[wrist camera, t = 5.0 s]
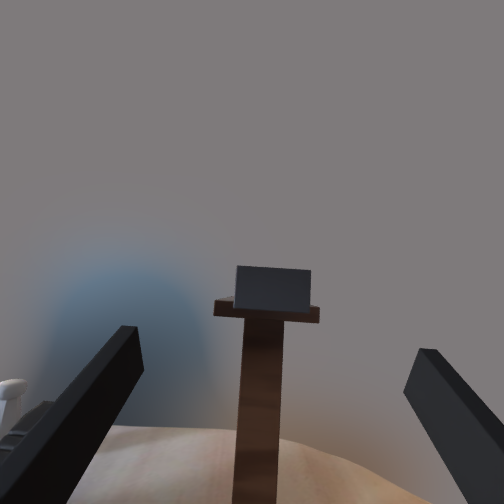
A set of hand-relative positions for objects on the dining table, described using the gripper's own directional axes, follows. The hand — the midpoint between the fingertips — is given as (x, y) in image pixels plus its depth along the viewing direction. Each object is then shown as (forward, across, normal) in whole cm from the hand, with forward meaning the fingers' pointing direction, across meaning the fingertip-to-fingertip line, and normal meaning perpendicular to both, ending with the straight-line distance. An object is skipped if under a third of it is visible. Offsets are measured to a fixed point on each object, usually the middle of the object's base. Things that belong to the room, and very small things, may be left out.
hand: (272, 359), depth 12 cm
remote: (+12, 0, -5) cm, 13 cm away
